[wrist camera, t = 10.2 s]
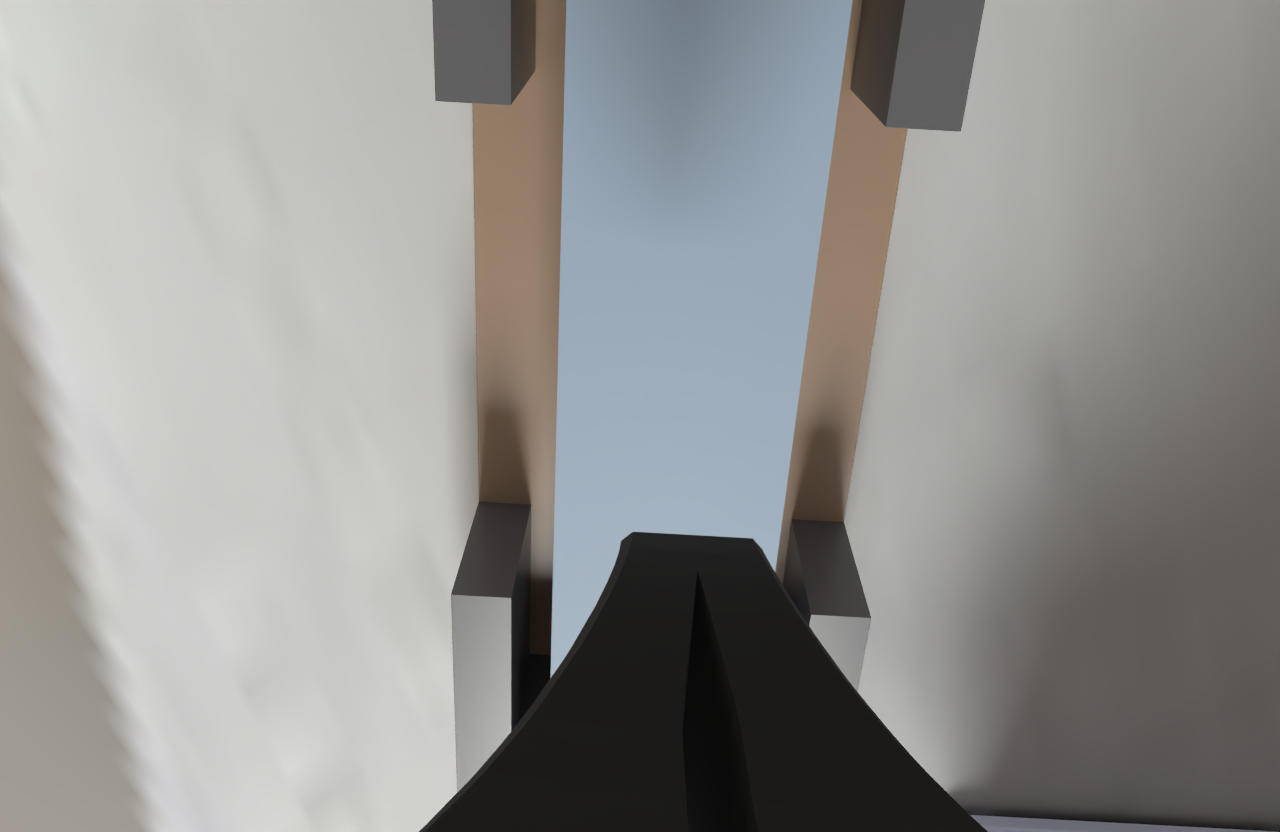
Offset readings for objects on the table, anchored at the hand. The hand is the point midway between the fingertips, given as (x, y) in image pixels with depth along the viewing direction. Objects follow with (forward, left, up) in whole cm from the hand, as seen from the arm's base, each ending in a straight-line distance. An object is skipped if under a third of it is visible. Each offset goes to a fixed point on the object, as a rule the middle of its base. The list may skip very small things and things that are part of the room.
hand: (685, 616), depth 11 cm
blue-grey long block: (0, 0, -8) cm, 8 cm away
